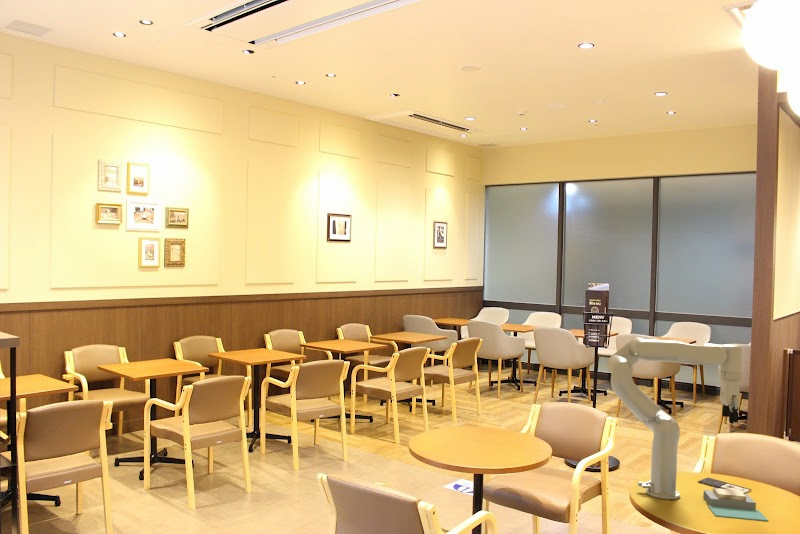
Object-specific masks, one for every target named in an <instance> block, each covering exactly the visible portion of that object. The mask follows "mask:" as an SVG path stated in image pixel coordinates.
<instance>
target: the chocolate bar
mask: <svg viewBox="0 0 800 534" xmlns="http://www.w3.org/2000/svg"><path fill="white" fill-rule="evenodd" d="M697 483H699V484H701V485H702V484H703V485H706V486H709V487H712V486H713V488H720V489H731V490H740V491H741V492H742V493H743V494H744V493H745V494H747V493H749V492H751V491H752V489H751V488H748V487H744V486H742V485H737V484H734V483H729V482H727V481H723V480H719V479H716V478H712V477H705V478H703V479H700V480H698V481H697ZM750 490H751V491H750ZM748 491H749V492H748ZM746 492H747V493H746Z"/></svg>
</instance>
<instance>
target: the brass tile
mask: <svg viewBox="0 0 800 534" xmlns="http://www.w3.org/2000/svg"><path fill="white" fill-rule="evenodd" d="M712 491H713V493H714V494H715V495H716V496H717V497H718V498H723V499H733V500H744V501H746V496H745V495H744V494H743V493H742V492H741V491H740V490H731V489H720V488H716V487H713V488H712Z"/></svg>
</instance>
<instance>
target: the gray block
mask: <svg viewBox="0 0 800 534" xmlns="http://www.w3.org/2000/svg"><path fill="white" fill-rule="evenodd" d="M744 495H745V496H746V501H744V500H733V499H723V498H718V497H717V496H716V495H715V494H714V493H713V490H708V489H703V499H704V500H705V501H706V502H707V504H708V505H709V506H719V507H730V508H740V509H751V510H757V508H756V507H757V502H756V501H755V500H753V498H752V497H751V496H750V495H749V494H748V493H745V494H744Z"/></svg>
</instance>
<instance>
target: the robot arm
mask: <svg viewBox="0 0 800 534" xmlns="http://www.w3.org/2000/svg"><path fill="white" fill-rule="evenodd" d="M639 361H645V362H660V363H661V362H663V363H664V362H666V363H677V364H688V365H689V364H690V365H700V366H720V367H719V368H720V370H719V371H720V372H719V373H720V376H719V378H720V380H721V382H720V393H719V402H720V403H721V405H722V409H721V415H722V416H721V417H724V418H725V417H726V418H728V421H729V423H739V406H740V402H741V400H740V399H741V398H740V396H741V395H740V393H741V392H740V382H742V373H743V370H742V369H743V367H742V366H743V365H742V364H743V363H742V361H743V348H742V346H741V345H737V344H717V343H712V342H711V343H710V342H708V343H707V342H706V343H703V344H701V345H700V344H697V345H696V344H690V343H685V342H682V341H678V340H662V339H661V340H659V339H645V338H643V337H635V338H632V339H631V340H630V341H628V342H627V343H625V344H624V345H623V346H622V347H621V348H620V349H618V350H617V351H616V352H614V353H613V354H612V355H611V356H610V357H609V358H608V360H607V362H606V367H607V371H608V372H609V373H610V374H611V375H610V385H611V389H612V392H613V393H614V394H615V396H616V397H618V399H620V401H621V402H622V403H624V405H626V407H627V408H628V409H629V411H630V412H631V413H632V415H634V416H635V417H636V418H637V419H638V420H639V421H640V422H642V423H643V425H644V426H645V427H647V428H648V429H649V430H650V431H651V432H652V433H653V438H652V444H651V456H650V457H651V459H650V460H651V461H650V463H651V464H650V479H648V481H645V482H643V481H640V480H639V481H638V482H637V486H638V487H640V488H641V487H642V488H641V489H645V492H646V494H647V495H649V496H651V497H653V498H655V499H656V498H657V499H661V500H669V499H670V501H671V499H672V500H678V499H679V498H681V493H680V492H679V491H677V475H678V474H677V469H678V447H679V440H680V437H681V436H680V434H681V428H680V426H679V423H678V421H677V420H676V419H675V418H673V417H672V415H669V414H668V413H667V412H666V411H665V410H664V409H662V408H661V406H659V405H658V404H657V403H656V402H655V400H654V399H652V397H650V396H649V395H647V394H646V393H645V392H644V391H643V390H642V389H641V388H640V387H639V386H637V385H636V383H635V382H634V380H633V373H634V365H635V364H636V363H637V362H639Z"/></svg>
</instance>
